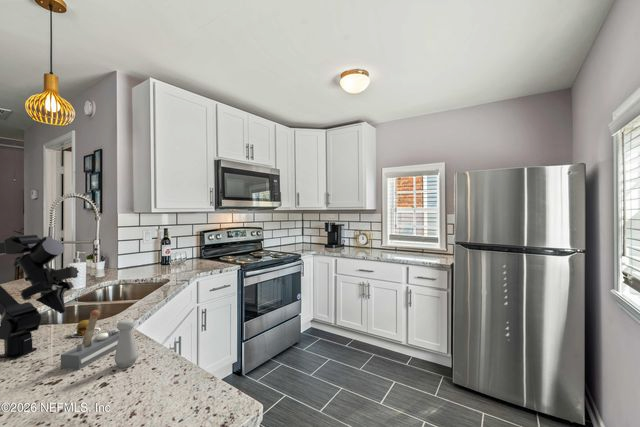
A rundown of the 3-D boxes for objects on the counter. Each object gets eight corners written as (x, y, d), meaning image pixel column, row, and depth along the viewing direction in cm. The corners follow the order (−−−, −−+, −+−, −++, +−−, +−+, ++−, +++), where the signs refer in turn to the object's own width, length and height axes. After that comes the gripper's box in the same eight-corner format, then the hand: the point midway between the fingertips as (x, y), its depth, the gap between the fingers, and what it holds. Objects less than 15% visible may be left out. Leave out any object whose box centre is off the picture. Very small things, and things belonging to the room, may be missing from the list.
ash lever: (78, 344, 91) (89, 310, 90) (85, 341, 93) (96, 307, 93) (85, 348, 91) (96, 313, 90) (92, 344, 93) (102, 310, 92)
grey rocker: (107, 333, 102) (107, 331, 102) (111, 331, 103) (111, 329, 103) (115, 332, 101) (115, 329, 101) (120, 329, 103) (119, 327, 103)
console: (60, 368, 87) (60, 349, 87) (112, 342, 105) (111, 325, 105) (79, 369, 87) (79, 350, 87) (128, 342, 104) (127, 326, 104)
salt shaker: (126, 370, 86) (125, 324, 85) (109, 368, 87) (108, 323, 87) (142, 360, 91) (141, 317, 91) (126, 359, 92) (125, 316, 92)
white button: (93, 340, 97) (93, 336, 96) (102, 336, 100) (102, 332, 100) (102, 340, 96) (102, 336, 96) (110, 336, 99) (110, 332, 99)
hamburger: (109, 334, 114) (109, 319, 114) (68, 344, 105) (67, 328, 105) (101, 326, 122) (101, 312, 122) (63, 335, 114) (62, 321, 114)
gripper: (51, 254, 90) (78, 298, 90) (77, 258, 108) (101, 296, 107) (7, 275, 86) (36, 322, 86) (42, 276, 103) (66, 315, 103)
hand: (63, 312), depth 96 cm, fingers closed
